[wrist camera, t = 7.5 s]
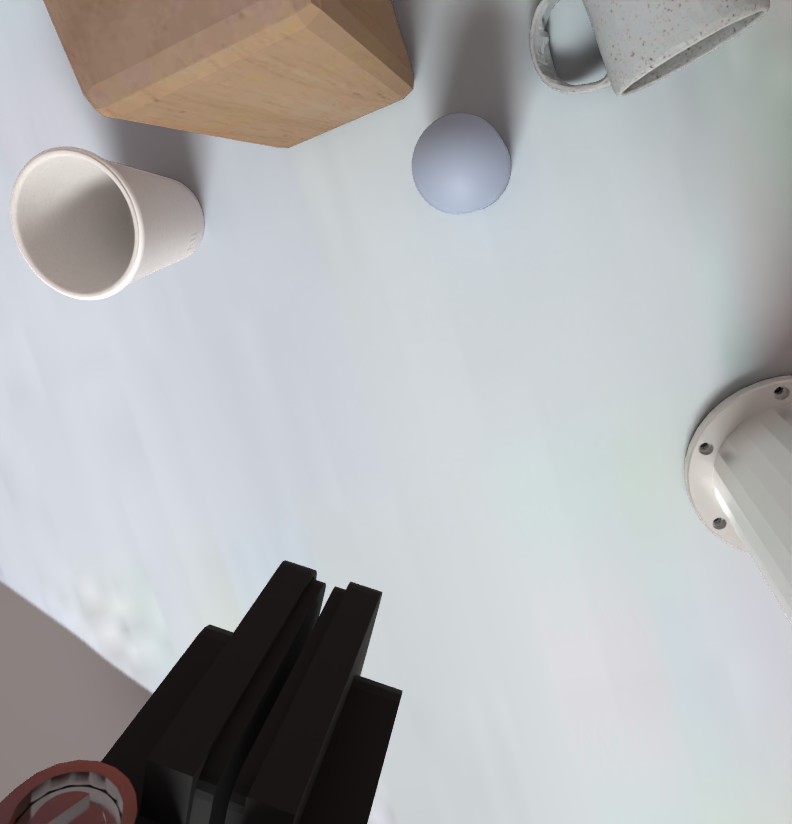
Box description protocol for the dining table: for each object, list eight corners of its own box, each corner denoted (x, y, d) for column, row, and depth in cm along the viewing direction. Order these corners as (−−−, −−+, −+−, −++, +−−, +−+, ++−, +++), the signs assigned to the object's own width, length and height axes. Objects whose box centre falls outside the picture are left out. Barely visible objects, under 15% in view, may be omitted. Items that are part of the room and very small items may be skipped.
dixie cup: (243, 205, 44) (166, 208, 35) (188, 302, 47) (103, 329, 38) (144, 130, 44) (40, 113, 35) (95, 233, 47) (-13, 242, 38)
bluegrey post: (521, 136, 39) (518, 125, 33) (498, 219, 41) (491, 224, 35) (442, 117, 40) (424, 103, 34) (423, 200, 42) (402, 201, 35)
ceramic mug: (689, -119, 34) (727, -200, 27) (746, 33, 36) (796, -6, 28) (505, 3, 38) (496, -40, 30) (564, 136, 39) (568, 124, 32)
